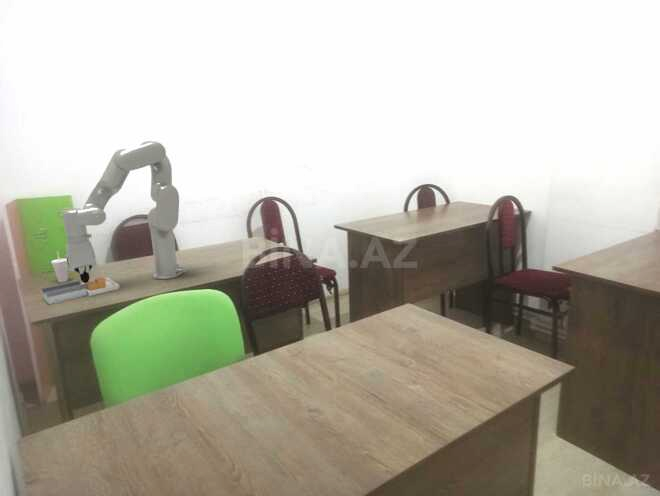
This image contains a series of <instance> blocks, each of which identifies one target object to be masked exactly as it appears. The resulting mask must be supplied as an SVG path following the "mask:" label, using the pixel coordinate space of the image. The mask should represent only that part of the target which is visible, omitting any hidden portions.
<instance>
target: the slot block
mask: <svg viewBox="0 0 660 496" xmlns="http://www.w3.org/2000/svg"><path fill="white" fill-rule="evenodd" d="M81 284H82V283H81V279H80V280H78V279H77V280H73V281H69V282H68V281H67V282H62V283H59V284H55V285H50V286H45V287H41V293H42V297H43V298H42V299H44V300H45V302H46V303H47V304H48V305H49V304H50V305H54V304H57V302H58V303H61V302H62V301H63V302H66V300H67V301H70V300H74V299H80V298H82V297H86V296H88V295H87V289H86V285H85V284H82V285H81ZM88 297H89V296H88ZM53 303H54V304H53Z"/></svg>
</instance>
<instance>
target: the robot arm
mask: <svg viewBox="0 0 660 496" xmlns="http://www.w3.org/2000/svg"><path fill="white" fill-rule="evenodd" d="M149 166H150V171H151V172H150V173H151V176H150V177H151V178H150V179H151V180H150V183H151V184H150V197H151V199H152V201H154V202H155V205H156V206H154V207H152V208H151V209H150V210H149V211H148V215H147V224H148V228H149V231H150V236H151V244H152V252H153V260H154V269H155V272H154V273H152V277H153V279H155V280H168V279H175V278H177V277H180V276H181V275H182V273H186V272H187V268H186V266H180V263H178V261H177V252H176V246H175V245H176V244H175V243H176V242H175V235H174V229H175V228H176V227H177V225H178V222H179V211H180V210H179V209H180V195H179V190H178V189H177V188H176V187H175V186H174V185H173V183H172V181H173V176H172V175H173V171H172V165H171V161H170V159H169V157H168V156H167V151H166V147H165V146H164V145H163V144H162V143H161V142H159V141H153V140H152V141H151V140H147V141H144V142H141V144H140V145H138V146H135V147H132V148H127V149H125V148H123V149H121V148H120V149H118V150H116V151H115V152H114V153H113V155H112V156H111V158H110V161H109V162H108V164H107V166H106V168H105V170H104V172H103V173H102V175H101V177H100V179H99V181H98V182H97V183H96V185H95V187H94V188H93V189H92V191H91V192H90V194H89V196H88V198H87V200H86V201H85V203H84V205H83V207H82V209H81V208H68V209H65V210H63V211H62V219H63V220H62V221H63V224H64V229H65V235H66V240H67V243H66V244H65V256H66V257H65V259H67V271H69V272H76V273H78V274H79V277H80V282H82V283H86V282H90V281H89V280H91V279H90V274H89V273H90V271H91V269H92V268H94V267H96V266H97V265H98V263H97V259H96V254H95V250H94V247H93V245H92V242H91V240H90V239H91V238H92V234H89V233H88V231H87V230H88V229H87V226H88V227H89V226H100V225H102V224H103V223H104V222H105V221H106V219H107V213H106V212H105V210H104V209H105V207H106V206H107V204H108V202H109V201H110V199H111V198H112V197H113V196H114V195H116V194H118V192H120V190H121V189H122V188H123V186H124V183H125V182H126V180H127V178H128V176H129V174H130V172H131V171H136V170H138V169H142V168H145V167H149ZM82 267H83V268H84V269H83V268H82Z"/></svg>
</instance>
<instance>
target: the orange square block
mask: <svg viewBox="0 0 660 496" xmlns="http://www.w3.org/2000/svg"><path fill="white" fill-rule="evenodd" d="M105 278H106V277H103V276H100V277H95V278H94V281H96V282H98V287H99V289H101V288H106V281H105Z"/></svg>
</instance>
